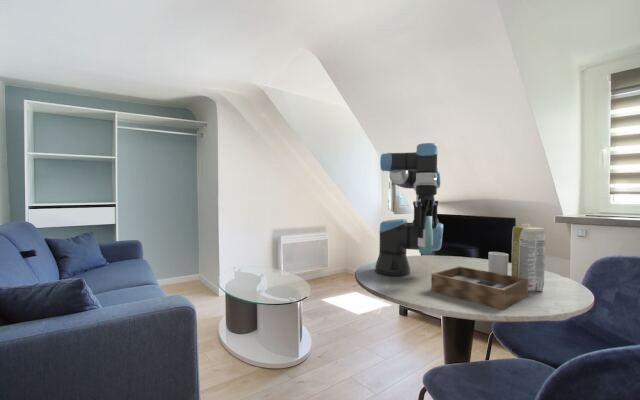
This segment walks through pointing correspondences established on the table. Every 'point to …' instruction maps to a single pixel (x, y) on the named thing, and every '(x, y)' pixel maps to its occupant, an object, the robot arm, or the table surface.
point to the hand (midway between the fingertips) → (425, 245)
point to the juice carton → (529, 255)
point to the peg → (427, 237)
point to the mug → (498, 263)
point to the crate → (480, 286)
